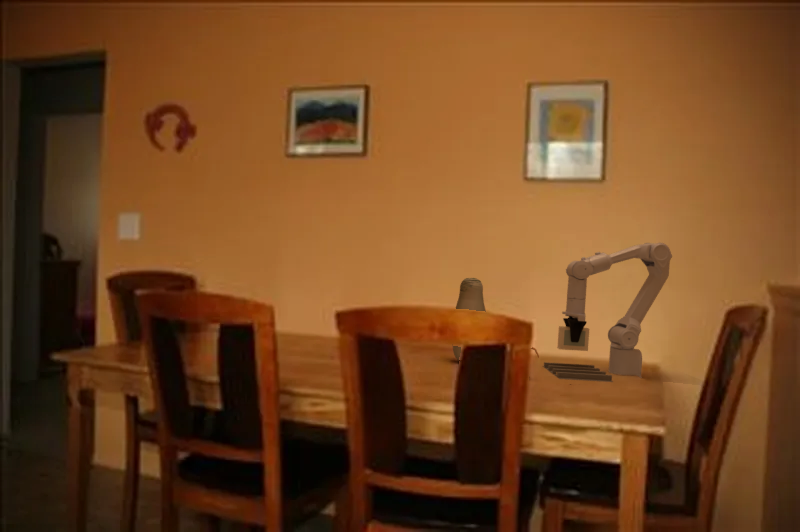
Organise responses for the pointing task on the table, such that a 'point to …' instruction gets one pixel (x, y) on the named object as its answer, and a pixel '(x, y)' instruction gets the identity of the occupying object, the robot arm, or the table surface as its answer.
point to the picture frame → (565, 339)
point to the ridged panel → (577, 372)
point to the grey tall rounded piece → (469, 301)
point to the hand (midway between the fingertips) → (573, 341)
